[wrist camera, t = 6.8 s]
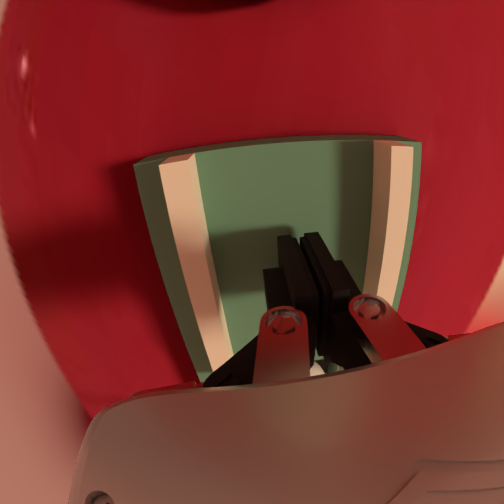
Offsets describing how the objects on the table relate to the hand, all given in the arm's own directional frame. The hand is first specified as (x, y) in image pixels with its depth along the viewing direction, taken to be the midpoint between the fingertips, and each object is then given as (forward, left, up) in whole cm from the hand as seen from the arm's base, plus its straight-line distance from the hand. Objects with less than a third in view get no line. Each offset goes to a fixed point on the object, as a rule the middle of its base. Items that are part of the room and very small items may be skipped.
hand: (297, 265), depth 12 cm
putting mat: (+5, 0, -3) cm, 6 cm away
